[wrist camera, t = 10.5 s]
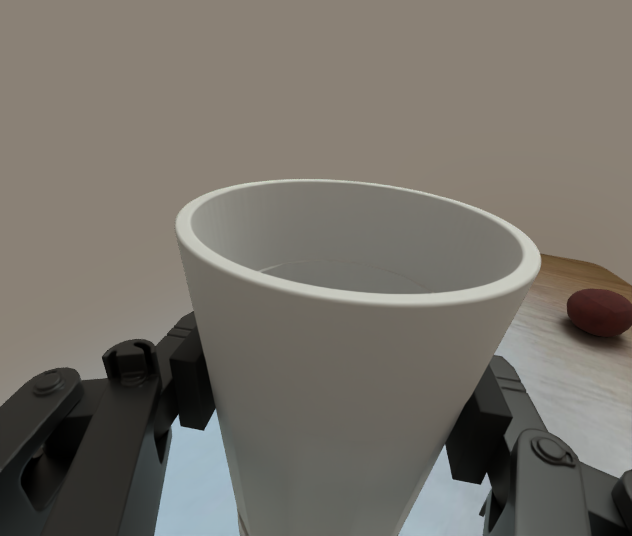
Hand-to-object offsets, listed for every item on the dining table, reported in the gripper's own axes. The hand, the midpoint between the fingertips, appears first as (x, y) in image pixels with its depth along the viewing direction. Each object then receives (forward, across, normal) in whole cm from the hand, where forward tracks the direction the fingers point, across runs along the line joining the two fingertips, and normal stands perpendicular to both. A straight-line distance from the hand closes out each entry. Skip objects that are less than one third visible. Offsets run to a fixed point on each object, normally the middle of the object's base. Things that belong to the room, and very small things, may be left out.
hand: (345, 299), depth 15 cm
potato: (+31, +34, -18) cm, 50 cm away
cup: (-5, 0, -7) cm, 8 cm away
